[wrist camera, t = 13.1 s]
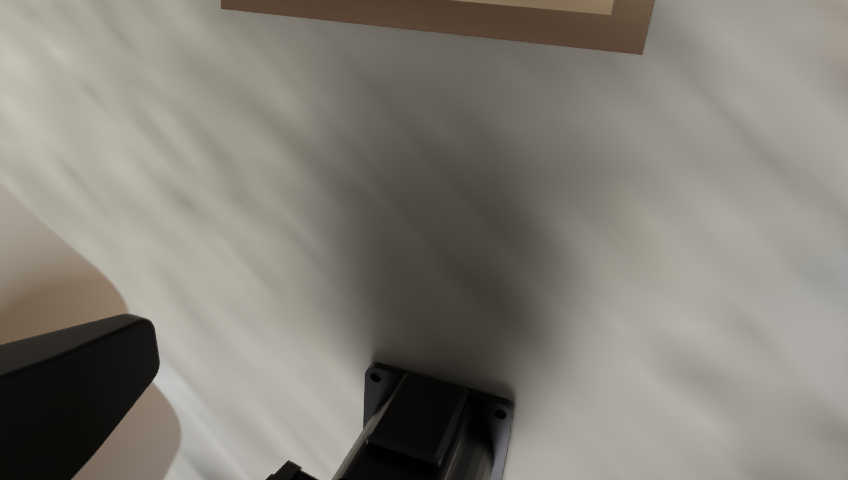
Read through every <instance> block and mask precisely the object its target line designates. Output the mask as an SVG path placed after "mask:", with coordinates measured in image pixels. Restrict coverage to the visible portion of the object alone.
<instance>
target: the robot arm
mask: <svg viewBox="0 0 848 480" xmlns="http://www.w3.org/2000/svg"><path fill="white" fill-rule="evenodd" d="M159 365H160V359H159V353H158V346H157V340H156V334H155V328H154V325H153V324H152V322H151V321H150V320H148V319H146V318H143V317H139V316H136V315H133V314H121V315H117V316H113V317H109V318H105V319H101V320H98V321H94V322H89V323H85V324H81V325H77V326H73V327H70V328H65V329H61V330H57V331H54V332H49V333H45V334H41V335H38V336H34V337H30V338H26V339H22V340H18V341H14V342H10V343H6V344H2V345H0V480H71V479H72V478H73V477H74V476H75V475H76V474H77V473H78V472H79V471H80V470H81V469H82V468H83V466H84V465H85V464H86V463H87V462H88V461H89V460H90V459H91V457H92V456H93V455H94V454H95V453H96V451H97V450H98V449H99V448H100V447H101V445H102V444H103V443H104V441H105V440H106V439H107V437H108V436H109V435H110V434H111V433H112V431H113V430H114V429H115V428H116V426H117V425H118V424H119V423H120V421H121V420H122V419H123V417H124V416H125V415H126V414H127V412H128V411H129V410H130V409H131V407H132V406H133V405H134V404H135V402H136V401H137V400H138V398H139V397H140V396H141V395H142V393H143V392H144V391H145V390H146V388H147V387H148V386H149V385H150V383H151V382H152V381H153V379H154V378H155V376H156V375H157V373H158V370H159ZM375 373H377V374H379V375H380V376H381V377H378V376H377V375H376V374H375ZM497 409H502V410H504V411H505V412H506V413H501V412H499V411H498V410H497ZM513 416H514V406H513V404H512V403H511V402H510V401H509V400H507V399H504V398H501V397H498V396H494V395H491V394H487V393H484V392H480V391H477V390H473V389H470V388H466V387H463V386H459V385H456V384H452V383H449V382H445V381H442V380H438V379H435V378H431V377H428V376H424V375H421V374H417V373H414V372H410V371H407V370H403V369H400V368H396V367H393V366H389V365H386V364H382V363H372V364H371V365H370V366H369V368H368V369H367V371H366V373H365V392H364V420H363V431H362V432H361V434H360V436H359V437H358V439H357V440H356V442H355V443H354V445H353V447H352V448H351V450H350V451H349V453H348V455H347V456H346V458H345V459H344V461H343V463H342V464H341V466H340V467H339V469H338V470H337V472H336V474H335V475H334V477H333V478H332V480H502V476H503V471H504V465H505V460H506V454H507V449H508V443H509V438H510V432H511V427H512V421H513ZM301 469H302V467H300V466H298V465H296V464H295V463H293V462H291V461H289V460H288V461H287V462H286V463H285V464H284V465H283V466H282V467H281V468H280V469H279V470H278V471H277V472H276V473H275V474H274V475H273V474H271V475H270V476H269V477H268V478H267V479H266V480H318V479H317V478H315V477H313V476H311V475H309V474H307V473H306V472H304V471H302V470H301Z"/></svg>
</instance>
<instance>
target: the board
mask: <svg viewBox="0 0 848 480" xmlns="http://www.w3.org/2000/svg"><path fill="white" fill-rule="evenodd" d="M654 1H655V0H221V9H228V10H237V11H246V12H255V13H265V14H274V15H283V16H292V17H301V18H310V19H319V20H329V21H338V22H347V23H356V24H365V25H374V26H383V27H393V28H402V29H411V30H420V31H429V32H438V33H447V34H457V35H466V36H475V37H484V38H493V39H502V40H511V41H521V42H530V43H539V44H548V45H557V46H566V47H575V48H585V49H594V50H603V51H612V52H621V53H630V54H639V55H642V53H643V49H644V44H645V40H646V36H647V31H648V27H649V23H650V18H651V14H652V9H653V5H654Z"/></svg>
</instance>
